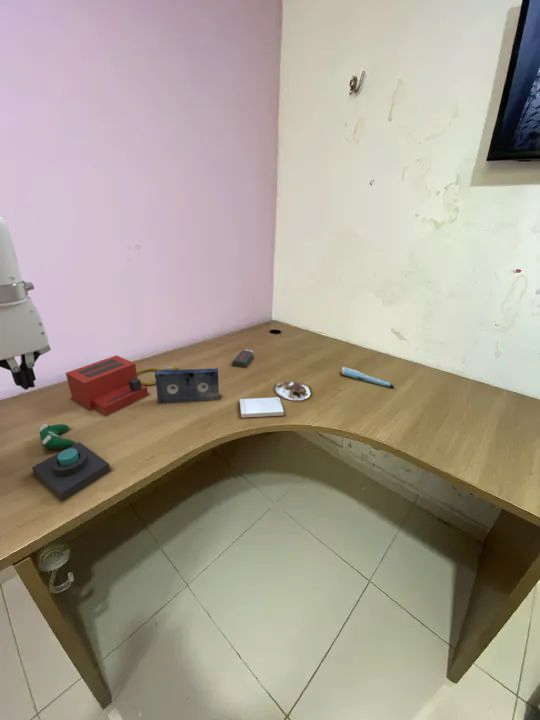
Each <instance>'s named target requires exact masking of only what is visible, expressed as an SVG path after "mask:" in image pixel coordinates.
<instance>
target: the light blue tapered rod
mask: <svg viewBox="0 0 540 720" xmlns="http://www.w3.org/2000/svg"><path fill="white" fill-rule="evenodd" d="M341 376H345V377H348V378H352V379H354V380H359V381H363V382H368V383H371V384H374V385H378V386H383V387H387V388H395V385H394V384H392V383H390V382H388V381H385V380H382V379H379V378H376V377H373V376H370V375H367V374H365V373H363V372H360V371H359V370H356V369H353V368H349V367H346V366H342V367H341Z"/></svg>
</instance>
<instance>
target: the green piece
mask: <svg viewBox="0 0 540 720" xmlns="http://www.w3.org/2000/svg"><path fill="white" fill-rule="evenodd" d="M68 430H70V429H69V425H67V424H64V423H59V424H58V423H57V424H53V425H49V424H46V423H44V424H43V425H42V426H41V427H40V428H39V431H38V432H39V436H40V440H41V444H42V446H43V447H45V448H47V449H50V450H51V449H52V450H61V449H62V450H63V449H67V448H69V447H71V446H73V445H75V441H74V440H73V439H69V438H61V437H60V434H63V433H66V432H67V431H68Z"/></svg>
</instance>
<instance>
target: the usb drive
mask: <svg viewBox="0 0 540 720" xmlns="http://www.w3.org/2000/svg"><path fill="white" fill-rule="evenodd" d="M253 352H254V351H253V350H249V349H243V350H242V351H240V352H239V353H238V354H237V355H236V357H235V358H234V359H233V360H232V367H240V368H245V369H246V368H247V366H249V364H250V363H251V361H252V360H253Z"/></svg>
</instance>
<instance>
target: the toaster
mask: <svg viewBox="0 0 540 720" xmlns="http://www.w3.org/2000/svg"><path fill="white" fill-rule="evenodd" d="M137 372H138V371H137V367H136V363H135V362H133V361H131V360H128V359H126V358H124V357H122V356H119V355H114V356H110V357H107V358H105V359H102V360H99V361H96V362H93V363H91V364H87V365H84V366H81V367H79V368H76V369H73V370H70V371H67V372H65V376H66V380H67V383H68V387H69V391H70V394H71V395H70V396H71V398H72V400H73V401H75V402H76V403H78V404H79V405H81V406H83V407H84V408H86V409H88V410H89V411H92V410H95V411H97V412H99V413H101V414H102V415H103V416H106V417H107V416H109V415H111V414H113V413H115V412H117V411H119V410H121V409H123V408H125V407H127V406H129V405H131V404H133V403H135V402H137V401H139V400H142V399H143V398H145V397H147V396H149V391H148V386H144V385H142V384H141V387H142V389H140V390H137V391H133V390H131V389H130V386H129V380H132V379H134V378H137V379H139V378H138V375H137V374H138V373H137Z"/></svg>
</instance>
